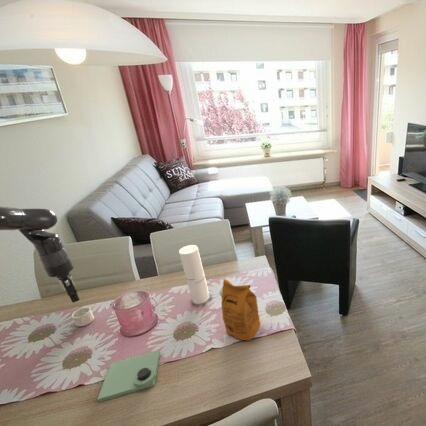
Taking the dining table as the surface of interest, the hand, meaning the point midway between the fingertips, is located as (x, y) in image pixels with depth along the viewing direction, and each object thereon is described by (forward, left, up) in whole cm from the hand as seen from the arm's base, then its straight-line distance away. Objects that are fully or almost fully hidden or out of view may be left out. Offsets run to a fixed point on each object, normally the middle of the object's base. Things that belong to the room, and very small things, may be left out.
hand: (73, 296), depth 112 cm
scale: (+24, -34, -13) cm, 44 cm away
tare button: (+29, -38, -10) cm, 49 cm away
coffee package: (+60, -27, -13) cm, 67 cm away
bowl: (0, 0, -13) cm, 13 cm away
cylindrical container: (+44, -2, -13) cm, 46 cm away
